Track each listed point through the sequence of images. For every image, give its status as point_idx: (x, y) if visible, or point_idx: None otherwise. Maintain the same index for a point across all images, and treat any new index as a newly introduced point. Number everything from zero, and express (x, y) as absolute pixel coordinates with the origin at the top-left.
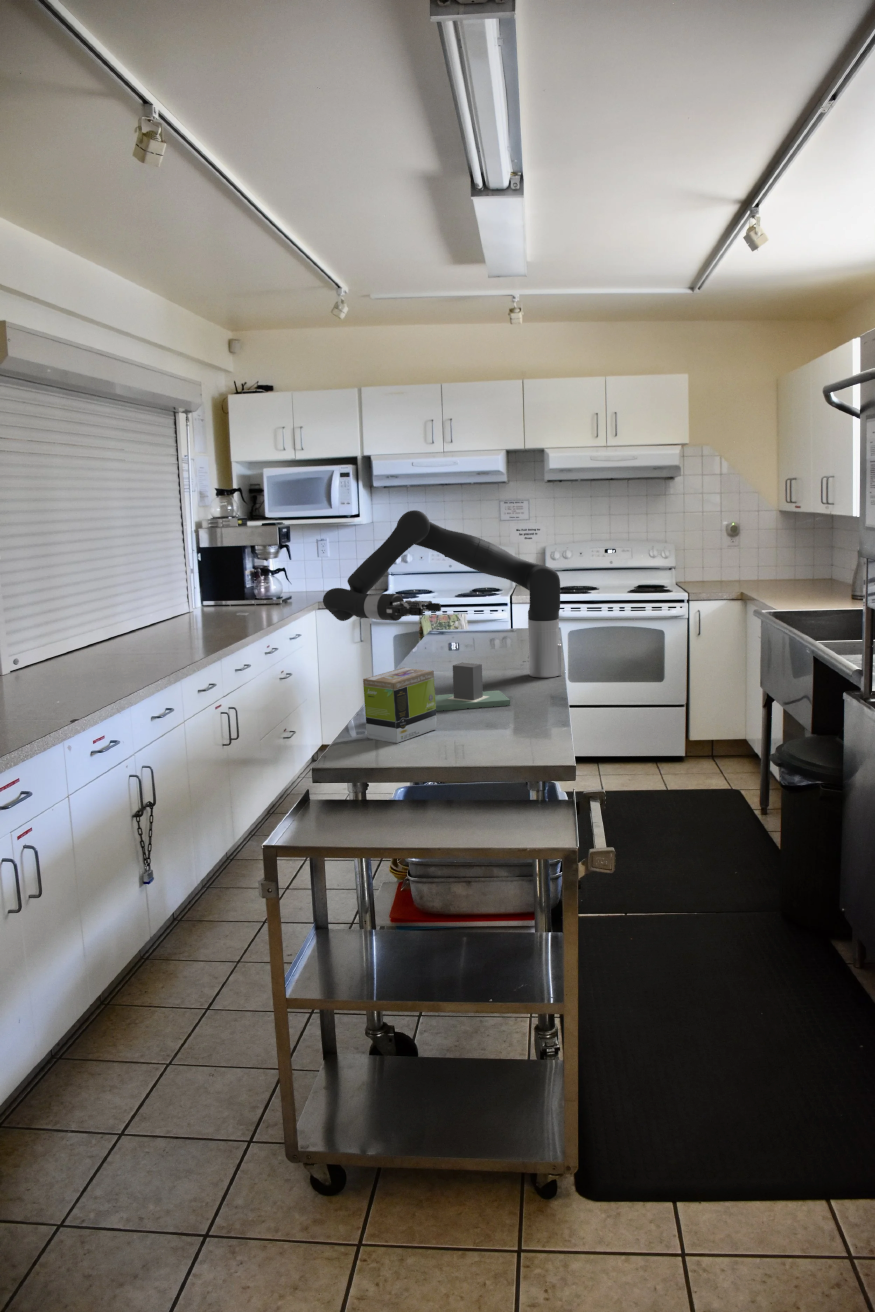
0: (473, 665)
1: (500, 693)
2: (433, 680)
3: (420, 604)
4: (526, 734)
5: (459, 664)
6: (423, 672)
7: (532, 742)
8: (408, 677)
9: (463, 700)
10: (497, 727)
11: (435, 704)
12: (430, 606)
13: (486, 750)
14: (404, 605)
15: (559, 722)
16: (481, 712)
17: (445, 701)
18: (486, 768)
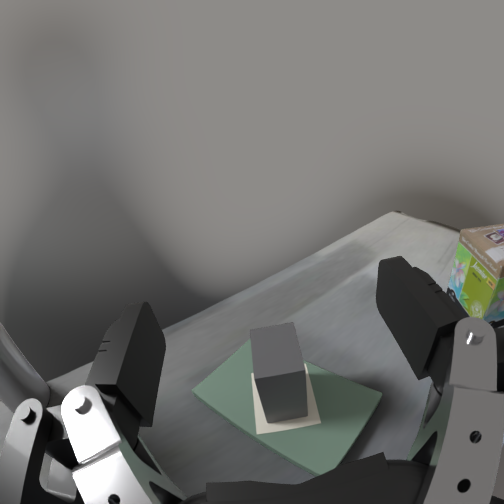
0: (274, 333)
1: (215, 374)
2: (459, 244)
3: (143, 467)
4: (361, 255)
5: (284, 364)
6: (478, 229)
7: (375, 241)
8: (501, 224)
9: (312, 386)
10: (368, 283)
11: (450, 279)
12: (137, 385)
13: (425, 245)
14: (493, 390)
15: (297, 263)
16: (326, 343)
17: (343, 407)
18: (444, 225)
